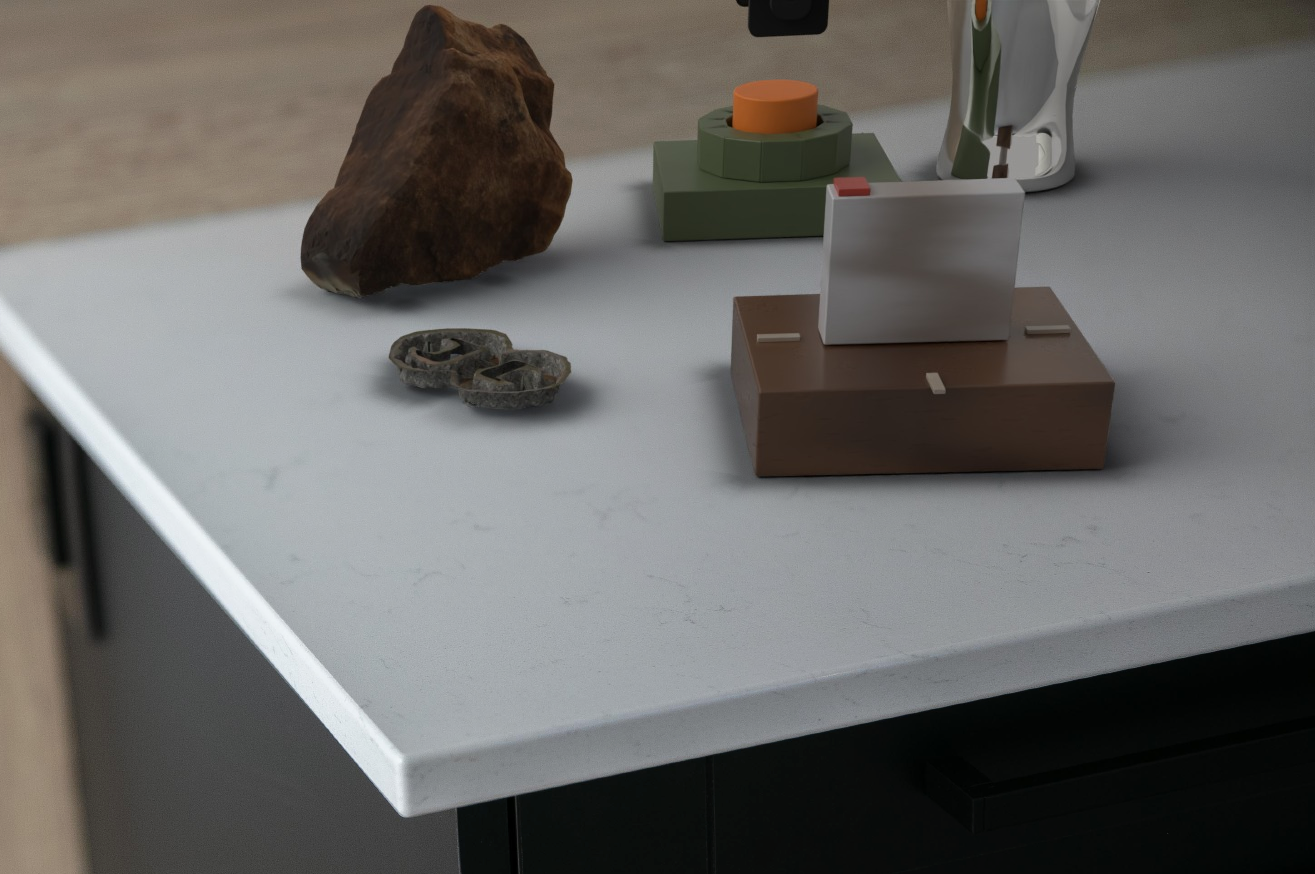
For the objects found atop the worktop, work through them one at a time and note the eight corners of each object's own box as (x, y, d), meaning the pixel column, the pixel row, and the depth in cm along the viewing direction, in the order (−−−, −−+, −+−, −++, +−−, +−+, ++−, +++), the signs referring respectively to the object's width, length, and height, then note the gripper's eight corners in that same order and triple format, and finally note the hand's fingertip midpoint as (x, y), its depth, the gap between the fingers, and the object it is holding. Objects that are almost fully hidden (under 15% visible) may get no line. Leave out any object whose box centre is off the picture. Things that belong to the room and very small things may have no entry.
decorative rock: (517, 228, 89) (513, -22, 84) (599, 261, 84) (600, -1, 79) (284, 286, 84) (264, 25, 79) (358, 325, 79) (342, 51, 74)
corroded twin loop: (501, 433, 69) (501, 405, 68) (357, 374, 74) (356, 348, 74) (605, 392, 71) (605, 365, 71) (458, 338, 77) (457, 313, 76)
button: (810, 117, 88) (812, 77, 88) (821, 139, 85) (823, 98, 84) (728, 120, 89) (730, 80, 88) (736, 142, 86) (737, 101, 85)
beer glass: (920, 194, 89) (950, -162, 82) (930, 151, 95) (960, -186, 88) (1084, 199, 87) (1130, -166, 80) (1084, 155, 93) (1128, -190, 86)
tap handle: (999, 323, 67) (1016, 169, 64) (1009, 340, 65) (1026, 184, 63) (817, 328, 67) (826, 176, 65) (823, 345, 66) (832, 191, 63)
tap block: (1037, 359, 72) (1047, 275, 70) (1109, 477, 63) (1122, 384, 61) (728, 368, 73) (731, 285, 71) (756, 485, 64) (761, 394, 63)
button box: (870, 179, 92) (877, 92, 90) (899, 233, 85) (906, 140, 83) (652, 188, 93) (653, 102, 91) (662, 241, 86) (664, 150, 84)
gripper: (943, -475, 68) (901, 62, 77) (868, -476, 83) (841, -25, 92) (721, -459, 69) (705, 71, 78) (686, -463, 84) (676, -17, 93)
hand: (779, 14), depth 85 cm, fingers open, 5 cm apart
